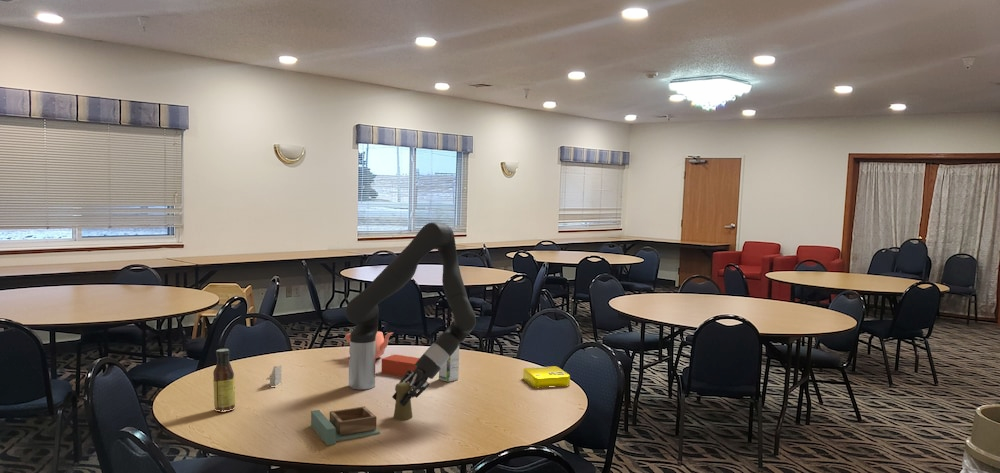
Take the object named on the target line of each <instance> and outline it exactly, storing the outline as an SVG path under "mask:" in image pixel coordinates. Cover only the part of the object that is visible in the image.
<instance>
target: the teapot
mask: <svg viewBox="0 0 1000 473" xmlns="http://www.w3.org/2000/svg"><path fill="white" fill-rule="evenodd" d="M350 334H351V332H349V333H346V334H345V335H344V336H345V337H344V338H345V340H346V342H347V344H349V345H350ZM393 334H394V332H388V333H386V334H385V337H384V334H383V332H382V331H377V334H376V338H375V359H379V358H381V356H383V355H384V353H385V350H386V348H387V347H388V345H389V339H390V337H391V336H392V335H393ZM348 352H349V354H350V348H349V350H348Z"/></svg>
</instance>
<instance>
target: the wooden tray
mask: <svg viewBox="0 0 1000 473" xmlns="http://www.w3.org/2000/svg"><path fill="white" fill-rule="evenodd" d="M377 418H378V417H377V416H376V415H375V414H374V413H373V412H372V411H370V410H369V409H368V408H367V407H366V406H359V407H357V406H356V407H351V408H345V409H337V410H331V411H329V421H330V422H331V424H332V425H333V426H334V427H335V428H336V432H337V433H338V434H339V435H340V436H341V435H346V434H352V433H358V432H364V431H370V430H376V429H377Z"/></svg>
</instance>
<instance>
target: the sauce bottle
mask: <svg viewBox="0 0 1000 473" xmlns="http://www.w3.org/2000/svg"><path fill="white" fill-rule="evenodd" d="M215 355H216V365H215V368H214V369H213V382H212V383H213V401H214V402H213V403H214V410H215V409H216V410H220V411H222V410H223V411H224V410H230V409H233V408H234V407H235V408H236V391H235V388H236V387H235V374H234V370H233V367H232V365H231V363H230V362H231V361H230V349H228V348H219V349H217V350H215Z"/></svg>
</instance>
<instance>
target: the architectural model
mask: <svg viewBox="0 0 1000 473" xmlns="http://www.w3.org/2000/svg"><path fill="white" fill-rule="evenodd" d="M282 375H283V374H282V364H281V365H279V366H275V365H274V366H273V369H272V371H271V374H270V375H269V376H268V377H266V378H265V380H269V387H270V386H276V385H278V384H279V383H281V384H282ZM278 386H279V385H278Z"/></svg>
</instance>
